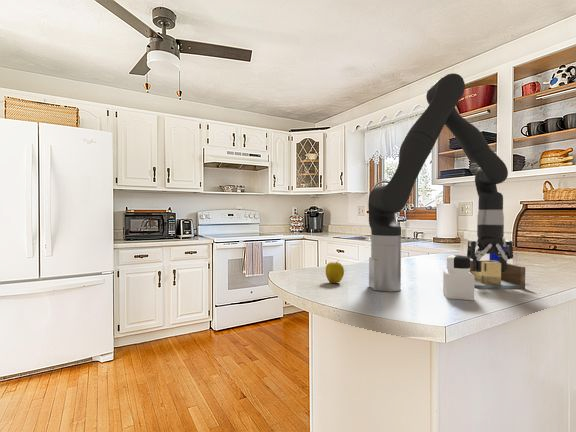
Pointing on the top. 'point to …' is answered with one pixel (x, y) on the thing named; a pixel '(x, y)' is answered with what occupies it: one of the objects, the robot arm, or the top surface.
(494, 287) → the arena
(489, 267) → the brass bracket
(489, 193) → the robot arm
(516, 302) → the top surface
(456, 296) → the medicine bottle
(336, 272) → the apple
